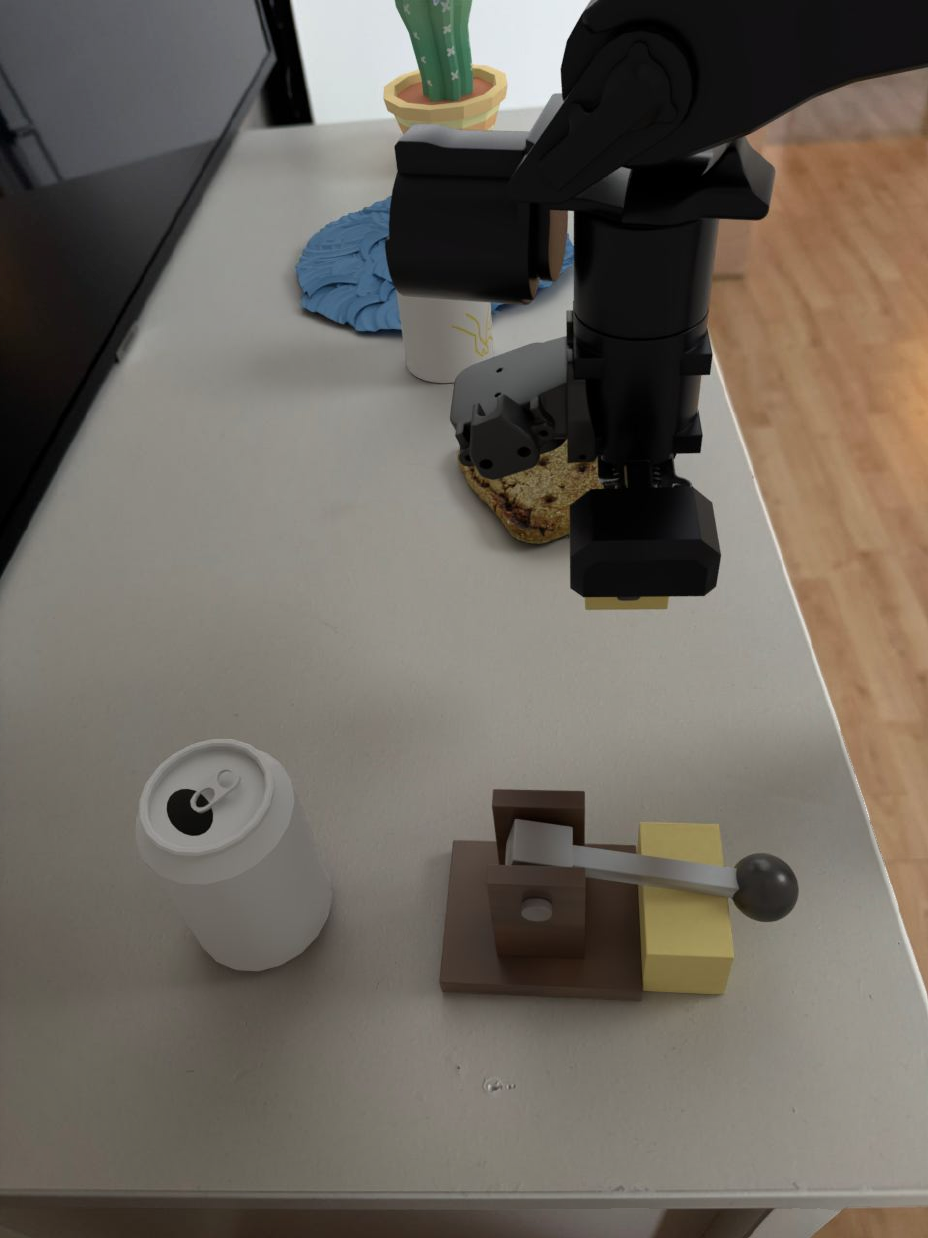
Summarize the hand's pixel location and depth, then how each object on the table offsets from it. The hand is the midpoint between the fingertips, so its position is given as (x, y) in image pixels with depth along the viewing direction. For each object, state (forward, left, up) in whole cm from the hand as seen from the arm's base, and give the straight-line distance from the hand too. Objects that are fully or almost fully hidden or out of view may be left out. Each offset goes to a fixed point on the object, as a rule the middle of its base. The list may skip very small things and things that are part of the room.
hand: (625, 567), depth 52 cm
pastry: (+4, -22, -11) cm, 25 cm away
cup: (+14, -39, -11) cm, 43 cm away
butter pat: (0, 0, -1) cm, 1 cm away
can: (+19, +15, -11) cm, 27 cm away
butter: (-3, +15, -11) cm, 19 cm away
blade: (-1, +15, -7) cm, 17 cm away
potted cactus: (+18, -87, -11) cm, 89 cm away
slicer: (+4, +15, -11) cm, 19 cm away
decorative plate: (+17, -58, -11) cm, 61 cm away
